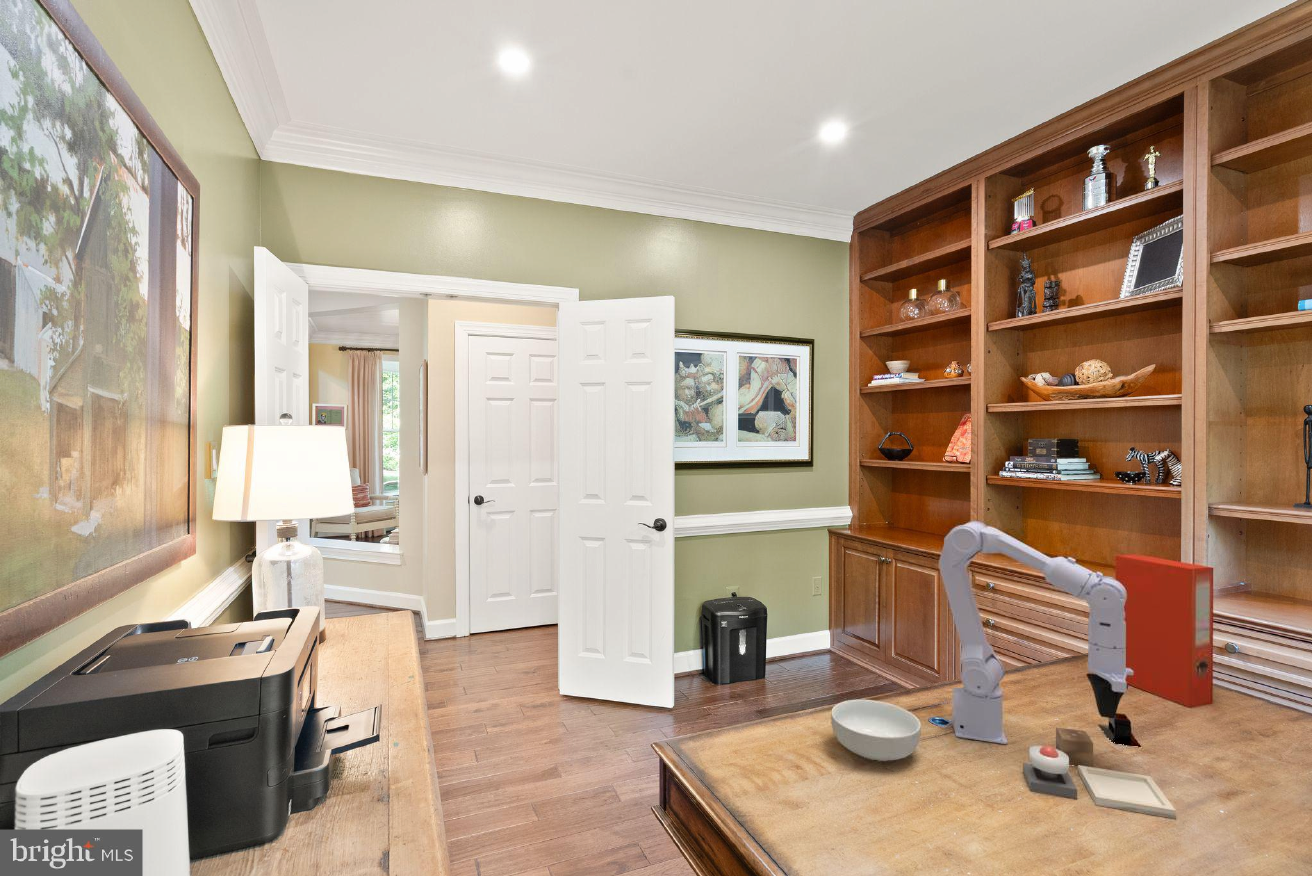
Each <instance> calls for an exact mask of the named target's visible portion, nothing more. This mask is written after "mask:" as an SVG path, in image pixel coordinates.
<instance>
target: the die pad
mask: <svg viewBox="0 0 1312 876" xmlns="http://www.w3.org/2000/svg"><path fill="white" fill-rule="evenodd" d="M1077 768H1078V769H1077V772H1078V773H1077V774H1078V775H1079V776H1080V778H1081V780H1082V781H1081V782H1083V784H1084V786H1085V787H1086V790H1087V791H1088V793H1089V795H1090V796H1091V799H1092V800H1093V802H1094V804H1095V805H1096V806H1099V807H1105V808H1111V809H1116V810H1122V811H1127V812H1133V813H1140V814H1145V815H1151V816H1156V817H1157V816H1158V817H1162V818H1167V819H1169V818H1170V819H1174V820H1176V819H1177V810H1176V809H1175V807H1174V806H1173V805H1172V803H1171V802H1170V801H1169V800H1168V798H1167V797H1166V796H1165V794H1164V793H1163V791H1162V790H1161V789H1160V787H1159V786H1158V785H1157V783H1156V782H1155V781H1154V780H1153V778H1152V777H1151V776H1150V775H1143V774H1138V773H1137V774H1136V773H1130V772H1124V771H1119V770H1112V769H1111V770H1110V769H1104V768H1099V767H1094V766H1093V767H1087V766H1081V765H1078V767H1077Z"/></svg>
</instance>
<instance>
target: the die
mask: <svg viewBox="0 0 1312 876" xmlns="http://www.w3.org/2000/svg"><path fill="white" fill-rule="evenodd" d="M1055 749H1058V750H1060V751H1062V752H1064V753H1065V754H1066V755H1067V756H1068V757H1069V765H1074V766H1073V767H1076V766H1078V765H1081V766H1087V767H1093V768H1094V742H1093V740H1092V739H1091V738H1090V736H1089V735H1088V733H1087V731H1084V730H1080V729H1079V730H1077V729H1072V728H1071V729H1070V728H1066V727H1065V728H1063V727H1058V726H1056V727H1055Z"/></svg>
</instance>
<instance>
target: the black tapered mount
mask: <svg viewBox="0 0 1312 876" xmlns="http://www.w3.org/2000/svg"><path fill="white" fill-rule="evenodd" d="M1107 724H1108V725H1106V724H1099V723H1097V726H1098V727H1099V728H1100V730H1101V731H1102V733H1103V734H1104V736H1105V735H1106V736H1105V737H1106V738H1109V740H1111V742H1113V743H1114V742H1115V744H1114V745H1118V744H1122V745H1121V746H1124V747H1132V746H1138V747H1137V748H1139V747H1141V746H1142V745H1141V743H1138V742H1139V741H1138V740H1137V738H1136V737H1135V736H1134V734H1133V732H1132V722H1131V720H1130V718H1128V715H1126V714H1125V713H1118V712H1116V715H1115V717H1114V718H1108V723H1107ZM1103 731H1104V732H1103ZM1135 738H1136V739H1135ZM1109 740H1108V741H1109ZM1123 744H1124V745H1123ZM1126 745H1127V746H1126Z"/></svg>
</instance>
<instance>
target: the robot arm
mask: <svg viewBox="0 0 1312 876" xmlns="http://www.w3.org/2000/svg"><path fill="white" fill-rule="evenodd" d="M943 542H944V544H943V547H942V550H941V553H940V557H939V559H938V568H939V571H940V575H941V578H942V582H943V585H944V591H945V592H946V596H947V599H948V602H949V603H948V604H949V606H950V610H951V614H952V616H953V621H954V624H955V627H956V628H955V629H956V631H957V634H958V635H957V636H958V637H959V642H960V645H961V650H960V651H961V652H960V663H961V667H962V668H961V673H960V680H961V683H962V685H963V686H962V687H953V688H952V713H951V723H952V725H953V729H954V734H955V737H957V738H961V739H962V738H964V739H968V740H969V739H970V740H975V741H976V740H977V741H983V742H989V743H995V744H1002V745H1007V744H1008V740H1007V738H1006V735H1005V732H1004V729H1003V691H1002V688H1001V686H1000V684H999V683H1000V682H1001V681H1003V679H1004V676H1005V667H1004V665H1003V663H1002V661H1001V660H1000V659H999V658H998V657H997V655H996V653H995V650H994V647H993V645H991V644H990V642H988V639H987V636H986V633H985V629H984V628H985V627H984V626H983V622H982V617H981V615H980V611H979V608H978V605H977V601H976V598H975V595H974V591H973V588H972V584H971V581H970V577H969V573H968V571H967V567H968V566H969V565H970V563H971V562H972V560H974V558H975V557H976V556H977V554H980V553H981V552H982V554H983V555H984V554H985V555H986V554H1003V555H1005V556H1007V557H1009V558H1012V559H1013V560H1015V561H1017V562H1020V563H1021V564H1023V565H1025V566H1028V567H1031V568H1033V569H1034V570H1037V571H1039V572H1041V573H1042V574H1043V576H1044V578H1045V579H1044V580H1045V581H1046V583H1048V584H1051V585H1053V586H1055V587H1057V588H1059V590H1060V589H1061V590H1063V591H1064V592H1066V593H1068V594H1069V595H1072V596H1074V597H1076V598H1078V599H1080V600H1084V601H1086V604H1087V605H1088V606H1089V616H1088V634H1087V635H1088V645H1087V646H1088V649H1087V651H1088V653H1087V655H1088V657H1087V658H1088V660H1087V663H1086V669H1087V670H1088V671H1089V673H1086V674H1085V675H1086V678H1087V679H1088V681H1089V684H1090V686H1091V688H1092V691H1093V694H1094V698H1095V704H1096V708H1097V711H1098V714H1099V716H1100V717H1101V718H1107V719H1109V718H1114V717H1115V715H1116V713H1117V711H1118V708H1119V704H1120V701H1121V700H1122V697H1123V696H1124V694H1126V693H1127V691H1128V689H1129V684H1127V682H1126V681H1125V680H1126V677H1127V675H1133V671H1132V670H1131V669H1130V668H1126V622H1125V620H1124V619H1125V612H1124V606H1125V601H1126V599H1127V593H1126V590H1125V588H1124V586H1123V585H1122V584H1121V583H1120V582H1118V581H1116V580H1115V578H1114V577H1111V576H1104V574H1103V573H1102V572H1100V571H1097V572H1094V571H1092V570H1090V569H1088V568H1087V567H1085V566H1082V565H1080V564H1078V563H1076V560H1077V559H1075V558H1072V557H1070V556H1069V557H1067V558H1065V557H1064V556H1057V557H1050V556H1047V555H1045V554H1044V553H1042V552H1041V551H1039V550H1036V549H1035V548H1034V547H1031V546H1029V545H1027V544H1025V543H1024V542H1022V541H1020V540H1018V539H1017V538H1014V537H1013V536H1011V535H1008V534H1007V533H1006V532H1003V531H1001V530H999V529H997V528H996V527H993V526H990V525H986V524H985V523H984V522H981V521H979V520H978V521H976V520H973V521H972V520H971V521H968V522H967V523H965V524H962V525H961V524H960V525H957V526H955V527H953V528H952V529H951V530H950V531H949V533H948V534H946V536H945V537H944V539H943ZM1090 672H1091V673H1090Z"/></svg>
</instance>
